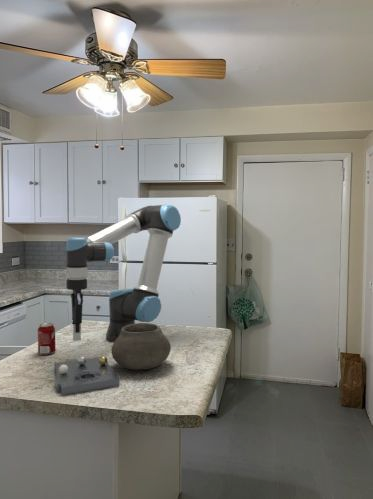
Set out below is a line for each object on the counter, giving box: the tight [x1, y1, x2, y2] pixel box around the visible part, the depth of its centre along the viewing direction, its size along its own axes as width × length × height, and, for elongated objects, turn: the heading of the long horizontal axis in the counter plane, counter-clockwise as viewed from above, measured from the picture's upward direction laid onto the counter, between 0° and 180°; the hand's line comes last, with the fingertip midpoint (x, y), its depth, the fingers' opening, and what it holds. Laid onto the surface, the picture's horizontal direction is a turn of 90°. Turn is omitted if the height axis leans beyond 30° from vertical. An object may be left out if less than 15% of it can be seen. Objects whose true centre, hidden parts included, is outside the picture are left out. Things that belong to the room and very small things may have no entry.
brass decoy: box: [99, 355, 108, 365], centre depth 139 cm, size 3×3×3 cm
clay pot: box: [110, 322, 172, 371], centre depth 143 cm, size 22×21×15 cm
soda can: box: [37, 322, 56, 356], centre depth 159 cm, size 7×7×12 cm
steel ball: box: [76, 355, 87, 365], centre depth 139 cm, size 3×3×3 cm
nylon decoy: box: [59, 364, 68, 374], centre depth 130 cm, size 3×3×3 cm
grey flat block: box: [53, 356, 121, 397], centre depth 133 cm, size 24×20×2 cm
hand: (76, 340), depth 146 cm, fingers closed
